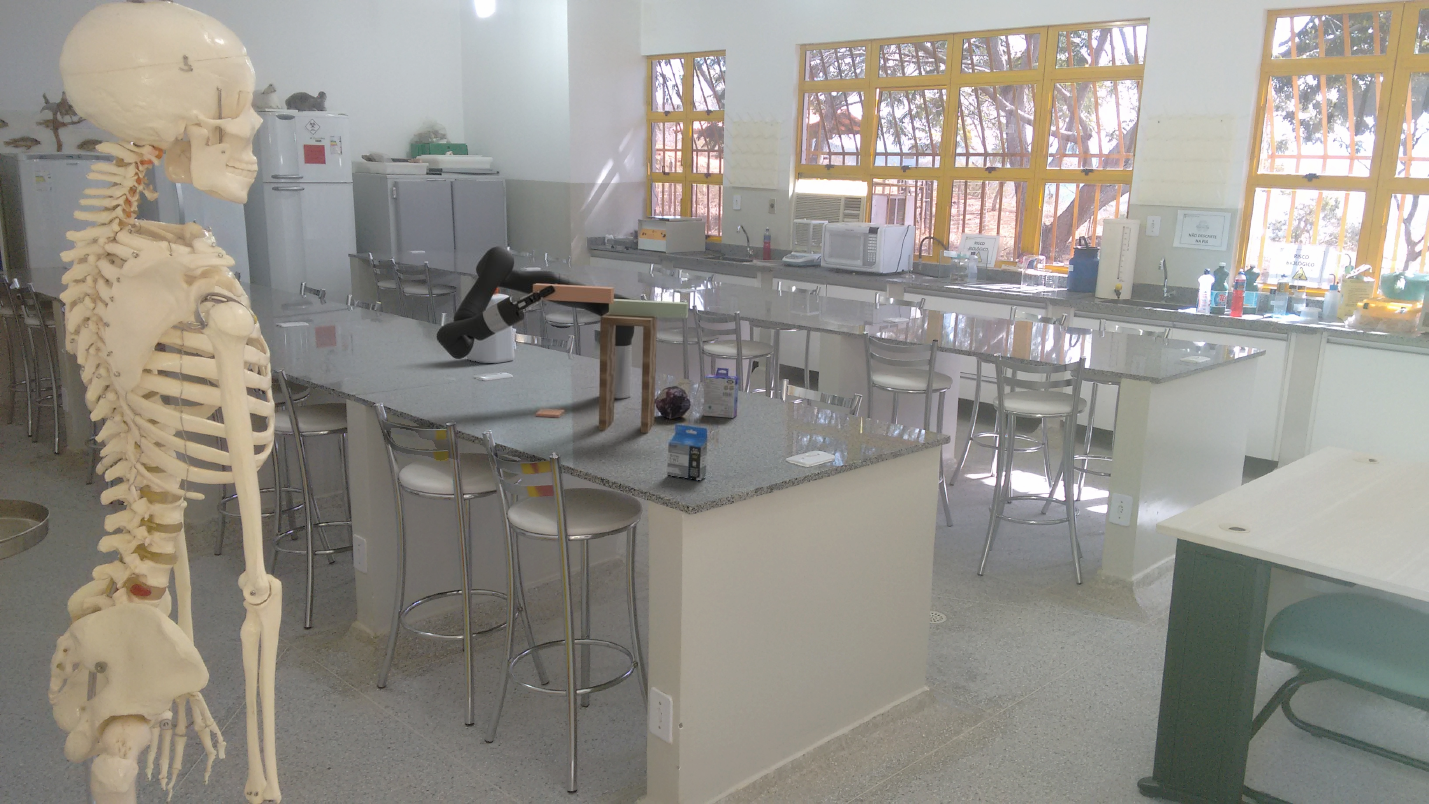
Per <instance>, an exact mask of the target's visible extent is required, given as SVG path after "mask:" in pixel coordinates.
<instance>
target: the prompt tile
mask: <svg viewBox="0 0 1429 804" xmlns="http://www.w3.org/2000/svg"><path fill="white" fill-rule="evenodd" d="M564 414H565V409H556V408H555V409H554V408H541V409H539V410H538V411H537V412H535V417H544V418H560V417H561V416H562V415H564Z"/></svg>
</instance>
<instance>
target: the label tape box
mask: <svg viewBox="0 0 1429 804" xmlns="http://www.w3.org/2000/svg"><path fill="white" fill-rule="evenodd" d="M674 429H675V430H674V434H673V436H672V438H671V439H670V440H669V441H668V447H667V448H668V449H667V467H666V472H667V473H666V476H667V475H671V476H670V477H672V476H680V477H687V478H692V479H699V480H700V479H702V478H704V477H705V476H706V473H707V458H708V457H707V455H708V454H707V452H708V428H707V427H701V426H700V427H699V426H693V425H686V424H679V423H675V425H674ZM687 431H688V432H687ZM689 431H692V432H695V433H692V432H689ZM706 477H707V476H706ZM706 477H705V478H706ZM705 478H704V479H705ZM700 481H701V480H700Z"/></svg>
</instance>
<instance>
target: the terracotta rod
mask: <svg viewBox="0 0 1429 804" xmlns="http://www.w3.org/2000/svg"><path fill="white" fill-rule="evenodd" d="M550 285H553V287H554V289H555V292H554V293H552V294H550V295H548V296H546V297H545V298H544V297H543V300H542V301H547V300H558V301H577V302H596V303H612V302H614V293H615V287H613V286H612V287H610V286H595V285H594V286H591V285H586V286H576V285H557V284H538V283H537V284H534V285H533V293H534V292H537V291H540V290H542V289H544V288H546V287H548V286H550Z"/></svg>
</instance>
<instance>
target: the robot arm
mask: <svg viewBox="0 0 1429 804" xmlns="http://www.w3.org/2000/svg"><path fill="white" fill-rule="evenodd" d="M514 267H515V258H514V256H513V254H512V252H511V251H510V250H509V249H508V248H505V247H503V246H494V247H491V248H489V249H488V250H487V251H486V252H485V253H484V255H483V256H482V257H481V258H480V259H479V261H478V262H477V264H476V267H475V272H476V274H477V277H478V278H477V279H476V281H475V282H474V284H473V285H472V287H471V288H470V289H469V291H468V293H467V294H466V295H465V296H464V299H463V300H462V301H461V303H460V305H459V306H458V308H457V310H456V312H455V314H454V316H453V321H451V322H448V323H446V324H444V325H442V326H440V328H439V329H438V331H437V333H436V340H437V342H438V344H439V345H441V346H442V348H443V349H444V350H445V351H446V352H447V353H448V354H449V356H450V357H452V358H453V359H456V360H462V359H464V358H467V355H468V354H469V353H470V351H471V350H472V347H473V345H474V340H475V339H476V340H479V341H481V340H484V339H486V338H488V337H490V336H492V335H494V334H495V333H498V332H500V331H503V330H505V329H507V328H509V327H511V326H512V327H513V326H515V325H516V324H518V323H520V322H523V320H525V313H524V311H525V312H527V311H529V310H531V309H533V308H534V307H535V306H537V305H539V304H540V303H542V301H544V300H543V297H544V298H545V297H546V296H548V295H550V294H552V293H554V292H555V289H554V287H553V285H550V286H548V287H546V288H544V289H542V290H540V291H537V292H534V293H533V285H534V284H537V283H538V284H557V285H576V286H587V285H586V284H584V283H582V282H581V281H579V280H577V279H575V278H572V277H570V276H568V275H565V274H562V273H559V272H556V271H551V270H533V271H531V270H530V271H529V270H528V271H527V270H521V269H516V268H514ZM497 287H498V288H502V289H507V290H512V291H516V292H520V293H523V294H525V295H523V296H521V297H519V298H518V300H517V298H515V296H513V295H512V296H509V297H508V298H506V299H504V300H502V301H500V302H498V303H496V304H495V305H493V306H491V307H489V308H488V309H487V310H486V308H487V306H488V304H489V302H490V300H491V298H492V296H493V294H494V293H495V291H496V289H497ZM614 299H625V300H632V298H630V297H628V296H626V295H622V294H619V293H615V292H614ZM546 301H547V302H550V303H552V304H553V303H554V304H556V305H560V306H562V307H563V306H564V307H567V308H572V309H573V308H574V309H579V310H584V311H587V312H590V313H592V314H595V315H597V316H599V317H600V318H601V317H602V316H603V315H605V314H607V313H608V312H609V303H596V302H577V301H558V300H546ZM634 334H635V326H622V325H616V327H615V381H614V399H627V398H630V397H631V393H632V391H631V390H632V389H631V386H632V381H631V380H632V347H633V346H632V345H633V344H632V340H633V337H634Z"/></svg>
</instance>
